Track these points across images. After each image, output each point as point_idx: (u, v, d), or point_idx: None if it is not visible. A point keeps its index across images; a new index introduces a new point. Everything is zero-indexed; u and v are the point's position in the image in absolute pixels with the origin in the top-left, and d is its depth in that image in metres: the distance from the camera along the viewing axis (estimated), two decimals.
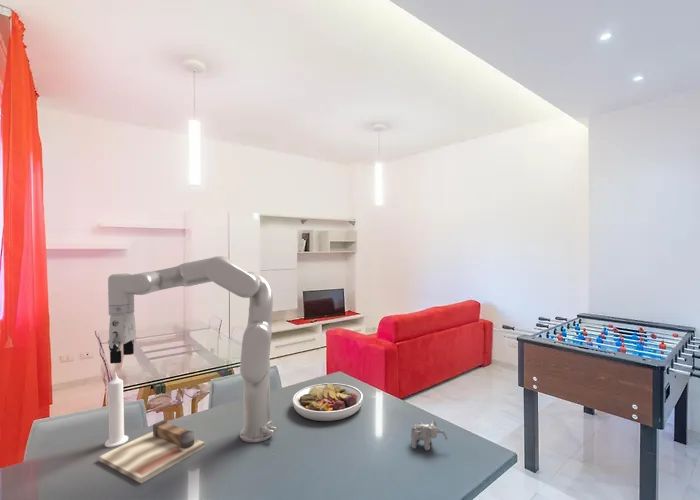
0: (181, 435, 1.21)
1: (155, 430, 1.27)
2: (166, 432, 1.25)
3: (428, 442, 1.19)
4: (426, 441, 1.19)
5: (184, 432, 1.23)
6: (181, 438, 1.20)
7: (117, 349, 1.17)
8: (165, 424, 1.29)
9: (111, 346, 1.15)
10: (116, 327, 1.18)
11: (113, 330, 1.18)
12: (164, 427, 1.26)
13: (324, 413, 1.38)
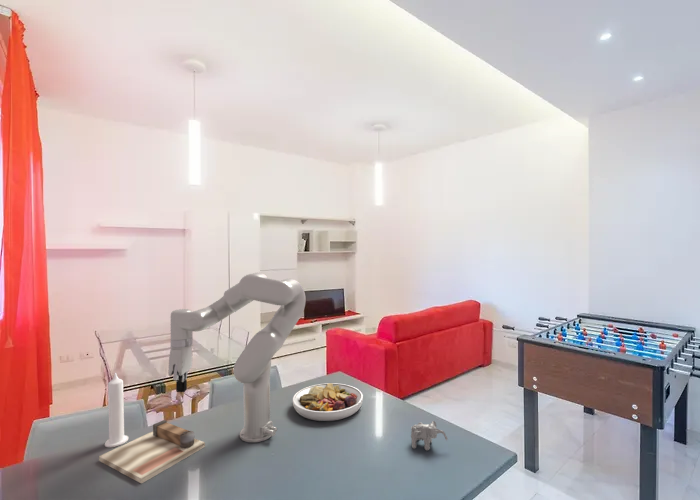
0: (181, 435, 1.21)
1: (155, 430, 1.27)
2: (166, 432, 1.25)
3: (428, 442, 1.19)
4: (426, 441, 1.19)
5: (184, 432, 1.23)
6: (181, 438, 1.20)
7: None
8: (165, 424, 1.29)
9: None
10: None
11: None
12: (164, 427, 1.26)
13: (324, 413, 1.38)
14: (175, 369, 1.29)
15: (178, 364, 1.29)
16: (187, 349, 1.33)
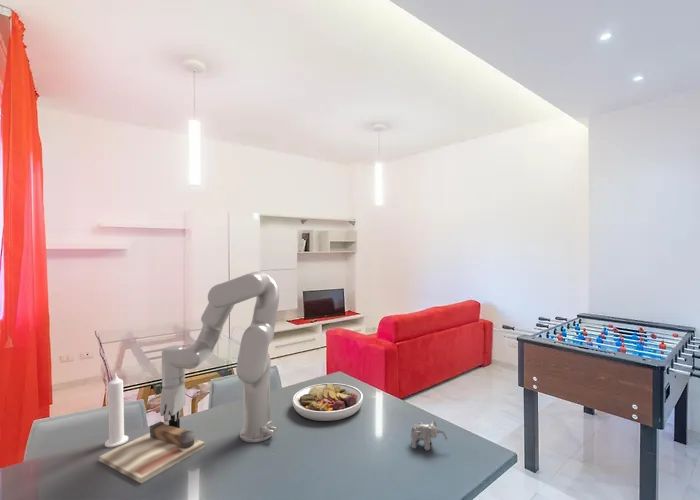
0: (181, 435, 1.21)
1: (152, 432, 1.26)
2: (165, 433, 1.24)
3: (428, 442, 1.19)
4: (426, 441, 1.19)
5: (184, 432, 1.23)
6: (181, 438, 1.20)
7: None
8: (162, 425, 1.28)
9: None
10: None
11: None
12: (162, 428, 1.26)
13: (324, 413, 1.38)
14: (167, 409, 1.26)
15: (170, 404, 1.25)
16: (179, 388, 1.30)
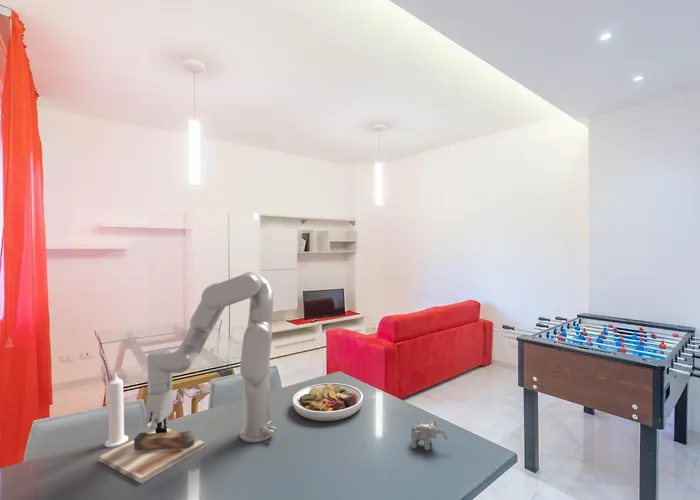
0: (182, 436, 1.20)
1: (138, 443, 1.19)
2: (158, 440, 1.19)
3: (428, 442, 1.19)
4: (426, 441, 1.19)
5: (182, 434, 1.22)
6: (184, 438, 1.20)
7: None
8: (148, 435, 1.21)
9: None
10: None
11: None
12: (151, 437, 1.20)
13: (324, 413, 1.38)
14: (153, 416, 1.20)
15: (156, 410, 1.20)
16: (166, 394, 1.24)
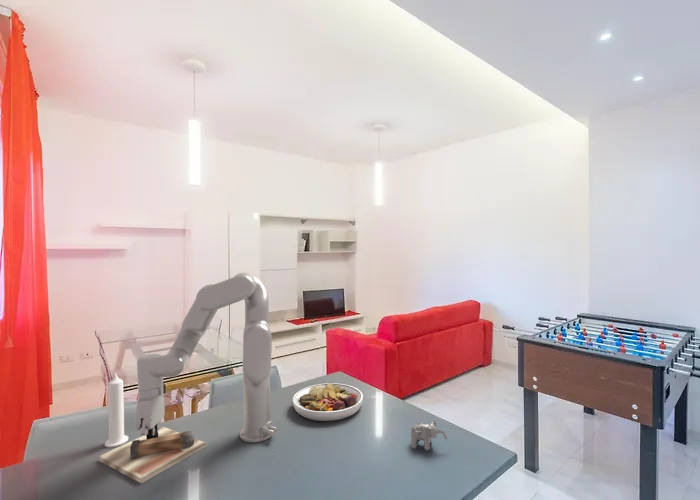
0: (184, 436, 1.20)
1: (135, 451, 1.14)
2: (157, 444, 1.17)
3: (428, 442, 1.19)
4: (426, 441, 1.19)
5: (181, 434, 1.21)
6: (186, 438, 1.20)
7: None
8: (143, 441, 1.17)
9: None
10: None
11: None
12: (149, 442, 1.17)
13: (324, 413, 1.38)
14: (143, 423, 1.17)
15: (146, 417, 1.17)
16: (157, 399, 1.21)
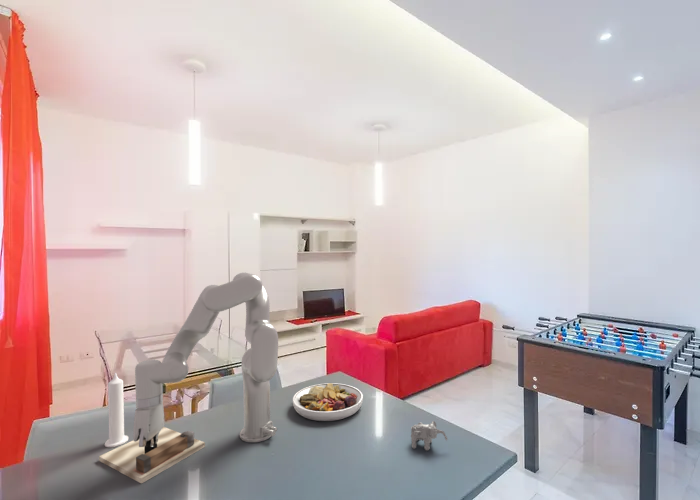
0: (187, 436, 1.20)
1: (149, 463, 1.07)
2: (167, 450, 1.13)
3: (428, 442, 1.19)
4: (426, 441, 1.19)
5: (182, 436, 1.20)
6: (191, 436, 1.21)
7: None
8: (149, 453, 1.10)
9: None
10: None
11: None
12: (158, 451, 1.11)
13: (324, 413, 1.38)
14: (141, 434, 1.09)
15: (144, 427, 1.09)
16: (156, 408, 1.13)
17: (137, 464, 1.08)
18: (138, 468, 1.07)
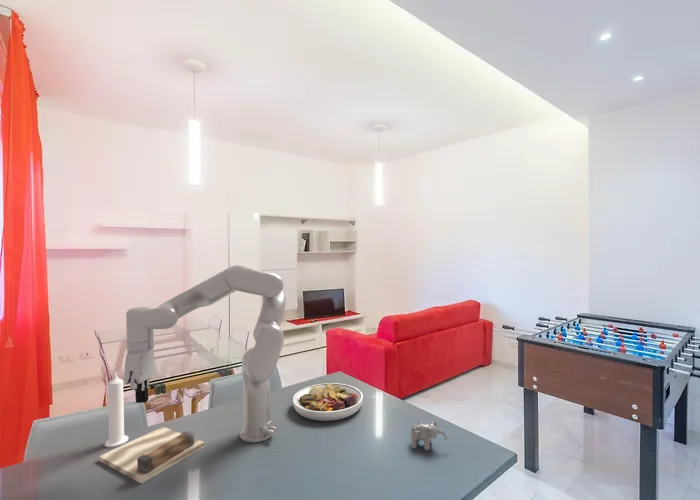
0: (188, 436, 1.20)
1: (150, 464, 1.07)
2: (168, 451, 1.13)
3: (428, 442, 1.19)
4: (426, 441, 1.19)
5: (182, 436, 1.20)
6: (191, 436, 1.21)
7: None
8: (150, 454, 1.10)
9: None
10: None
11: None
12: (159, 452, 1.11)
13: (324, 413, 1.38)
14: (132, 376, 1.11)
15: (136, 370, 1.11)
16: (147, 353, 1.15)
17: (138, 465, 1.07)
18: (140, 469, 1.07)
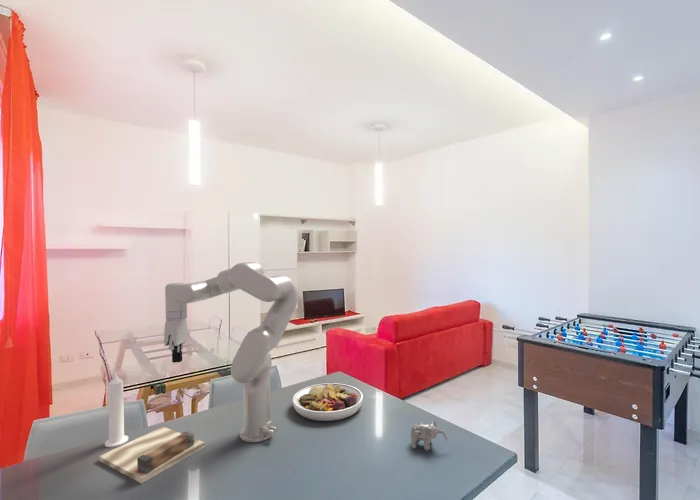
0: (188, 436, 1.20)
1: (150, 464, 1.07)
2: (168, 451, 1.13)
3: (428, 442, 1.19)
4: (426, 441, 1.19)
5: (182, 436, 1.20)
6: (191, 436, 1.21)
7: None
8: (150, 454, 1.10)
9: None
10: None
11: None
12: (159, 452, 1.11)
13: (324, 413, 1.38)
14: (170, 339, 1.34)
15: (173, 334, 1.34)
16: (182, 321, 1.38)
17: (138, 465, 1.07)
18: (140, 469, 1.07)
